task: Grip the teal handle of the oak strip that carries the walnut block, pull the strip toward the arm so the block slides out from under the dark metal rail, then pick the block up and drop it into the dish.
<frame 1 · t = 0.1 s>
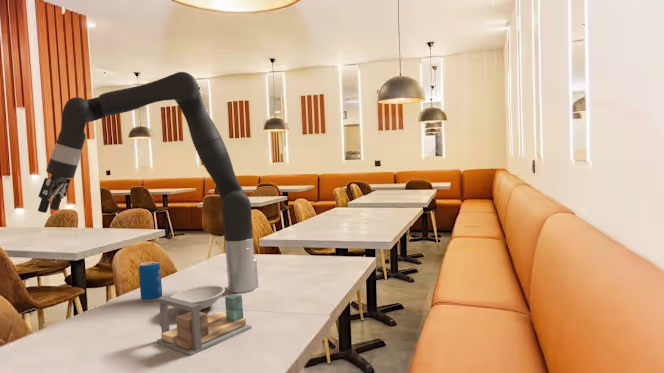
hand: (48, 210, 133), 31 cm above the table, tool tilted 20°, fingers open, 8 cm apart
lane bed: (205, 335, 108), on the table
strip 2 far: (183, 338, 106), resting on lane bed
strip 2 near: (215, 319, 114), point 2 cm above the table, slide at 0.0 cm
strip 1: (211, 319, 106), point 5 cm above the table, slide at 0.0 cm, touching walnut block
walnut block: (193, 336, 102), point 2 cm above the table, touching strip 1
beverage can: (152, 299, 142), on the table
dish: (198, 311, 128), on the table
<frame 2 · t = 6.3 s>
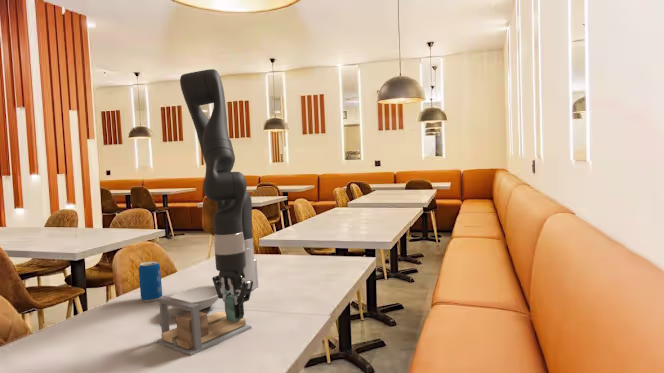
hand: (234, 316, 111), 3 cm above the table, tool pointing down, fingers closed on strip 1, 3 cm apart
strip 1: (211, 319, 106), point 5 cm above the table, slide at 0.0 cm, touching gripper, walnut block
everything else where it was.
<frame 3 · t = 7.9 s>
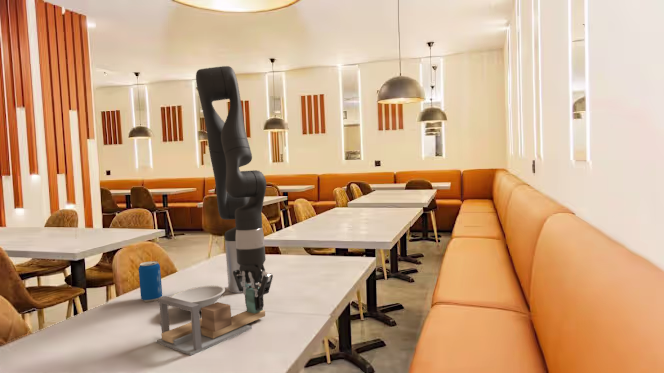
hand: (254, 308, 117), 3 cm above the table, tool pointing down, fingers closed on strip 1, 3 cm apart
strip 1: (233, 310, 111), point 5 cm above the table, slide at 6.9 cm, touching gripper, walnut block
walnut block: (217, 326, 107), point 2 cm above the table, touching strip 1
everything else where it was.
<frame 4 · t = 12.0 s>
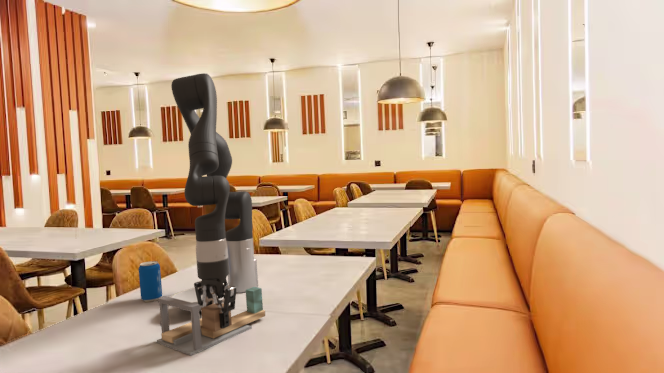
hand: (217, 324, 107), 3 cm above the table, tool pointing down, fingers closed on walnut block, 5 cm apart
strip 1: (234, 310, 111), point 5 cm above the table, slide at 6.9 cm, touching walnut block
walnut block: (217, 326, 107), point 2 cm above the table, touching gripper, strip 1
everything else where it was.
when the fingers open (7 cm above the table, at t = 17.3 s): walnut block drops 2 cm, resting on dish.
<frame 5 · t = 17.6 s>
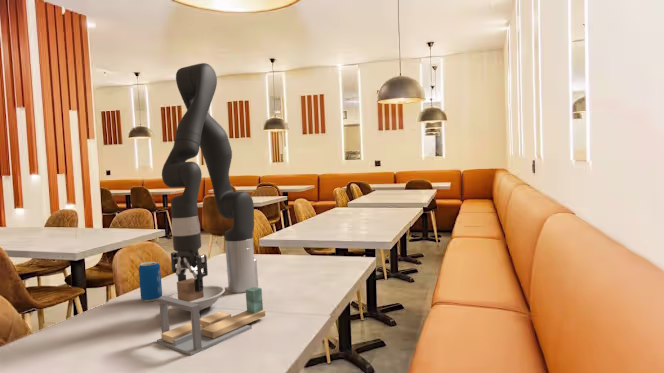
hand: (190, 289, 123), 7 cm above the table, tool pointing down, fingers open, 7 cm apart
strip 1: (234, 310, 111), point 5 cm above the table, slide at 6.9 cm
walnut block: (191, 298, 123), point 5 cm above the table, touching dish
dish: (198, 311, 128), on the table, touching walnut block
everything else where it was.
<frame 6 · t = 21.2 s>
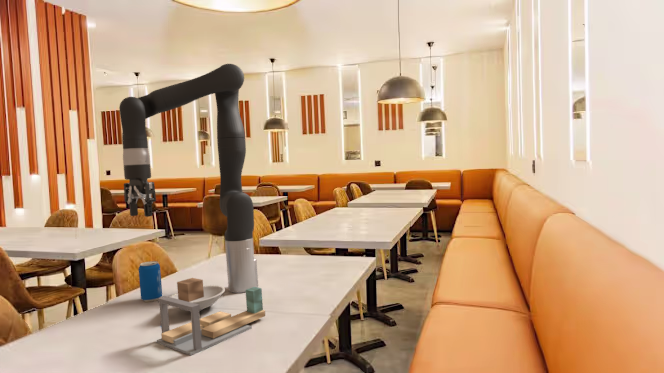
hand: (141, 216, 134), 28 cm above the table, tool pointing down, fingers open, 8 cm apart
nothing on the table moved.
at the end: strip 1 slide at 6.9 cm; walnut block 4.0 cm from the dish (horizontally); walnut block point 4.9 cm above the table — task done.
